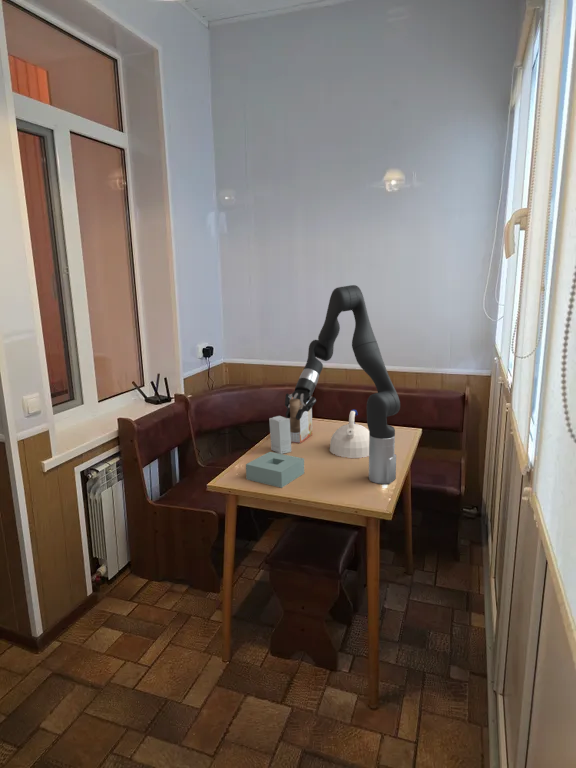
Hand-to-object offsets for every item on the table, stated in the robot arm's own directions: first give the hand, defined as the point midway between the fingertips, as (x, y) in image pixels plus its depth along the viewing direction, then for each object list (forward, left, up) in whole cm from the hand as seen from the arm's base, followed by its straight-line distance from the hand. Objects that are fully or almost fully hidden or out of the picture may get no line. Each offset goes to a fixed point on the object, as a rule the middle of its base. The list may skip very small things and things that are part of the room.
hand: (292, 417), depth 203 cm
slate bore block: (0, +13, -20) cm, 24 cm away
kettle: (-13, -28, -20) cm, 37 cm away
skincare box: (+14, -12, -20) cm, 27 cm away
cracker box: (+15, -31, -20) cm, 40 cm away
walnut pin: (0, -2, -6) cm, 6 cm away
